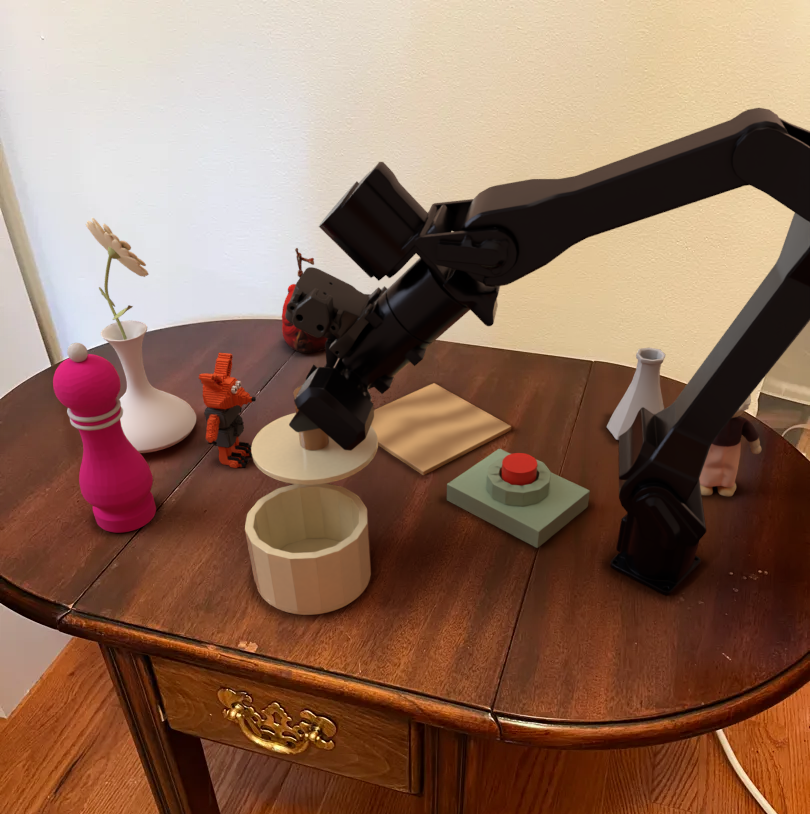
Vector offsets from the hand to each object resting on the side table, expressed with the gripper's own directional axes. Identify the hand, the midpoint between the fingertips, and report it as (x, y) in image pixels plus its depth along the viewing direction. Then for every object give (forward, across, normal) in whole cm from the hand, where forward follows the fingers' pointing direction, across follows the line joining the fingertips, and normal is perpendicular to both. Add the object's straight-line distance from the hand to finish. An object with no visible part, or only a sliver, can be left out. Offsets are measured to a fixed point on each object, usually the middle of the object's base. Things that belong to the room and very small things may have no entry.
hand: (297, 418), depth 78 cm
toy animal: (+18, -12, +2) cm, 21 cm away
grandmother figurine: (-19, -14, +39) cm, 45 cm away
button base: (-5, -8, +24) cm, 26 cm away
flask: (-14, -24, +34) cm, 44 cm away
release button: (-7, -8, +22) cm, 24 cm away
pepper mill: (+24, +1, -5) cm, 24 cm away
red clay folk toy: (+18, -40, +2) cm, 44 cm away
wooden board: (+3, -21, +16) cm, 27 cm away
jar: (+8, +6, +11) cm, 15 cm away
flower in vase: (+27, -15, -8) cm, 32 cm away
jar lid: (+1, 0, +3) cm, 3 cm away
